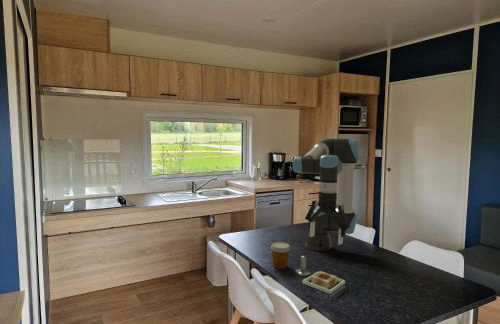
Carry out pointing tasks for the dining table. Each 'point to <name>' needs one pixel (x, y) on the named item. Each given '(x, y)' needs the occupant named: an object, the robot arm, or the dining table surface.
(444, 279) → the dining table surface
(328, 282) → the wooden square frame
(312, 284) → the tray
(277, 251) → the disposable coffee cup
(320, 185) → the robot arm
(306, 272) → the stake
